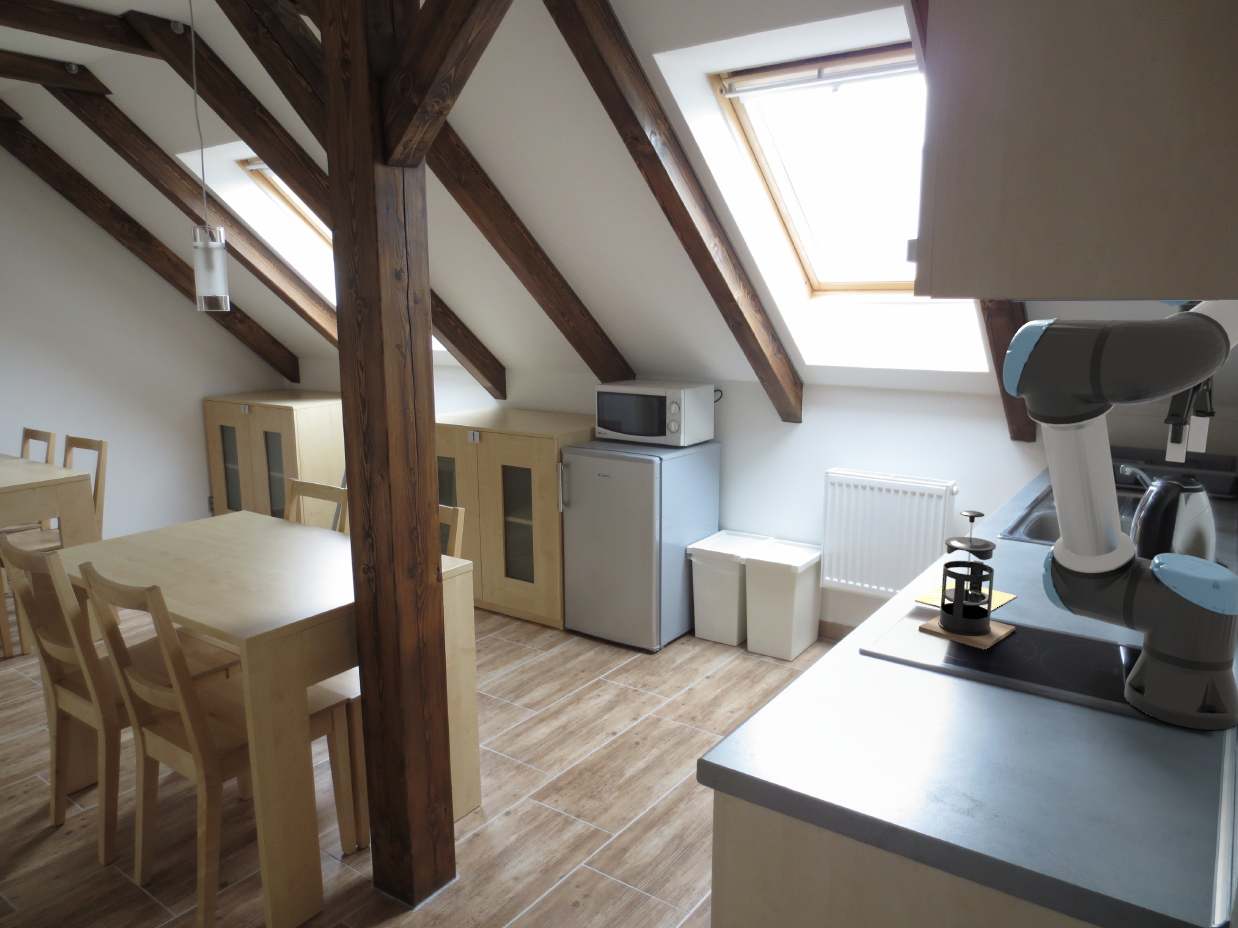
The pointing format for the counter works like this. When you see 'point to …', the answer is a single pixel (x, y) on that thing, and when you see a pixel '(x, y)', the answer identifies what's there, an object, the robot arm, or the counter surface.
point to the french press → (966, 602)
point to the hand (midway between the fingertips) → (1185, 456)
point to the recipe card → (997, 596)
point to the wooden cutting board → (981, 642)
